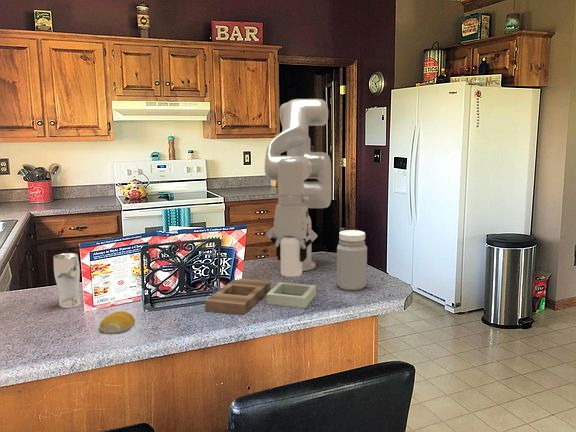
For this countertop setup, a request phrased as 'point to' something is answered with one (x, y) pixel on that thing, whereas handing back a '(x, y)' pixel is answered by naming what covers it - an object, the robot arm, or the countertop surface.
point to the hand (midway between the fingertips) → (291, 259)
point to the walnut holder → (238, 296)
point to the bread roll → (117, 322)
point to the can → (290, 257)
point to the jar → (351, 260)
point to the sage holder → (291, 300)
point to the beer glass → (67, 279)
